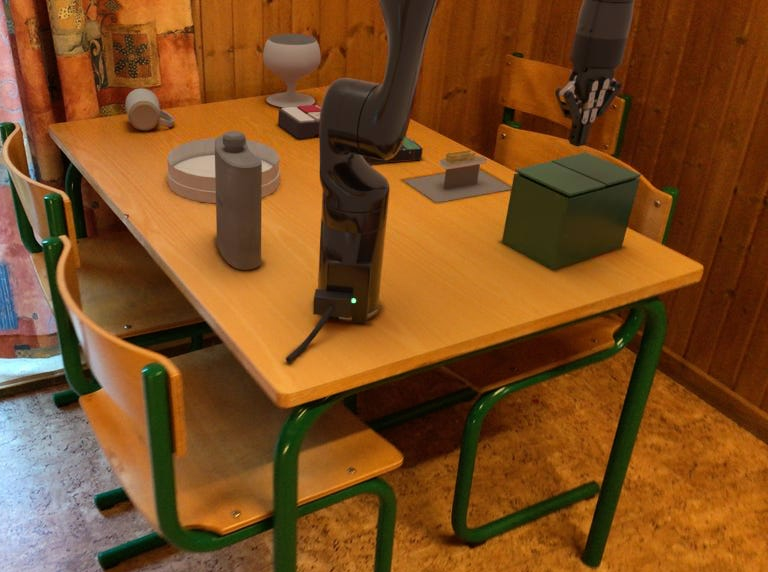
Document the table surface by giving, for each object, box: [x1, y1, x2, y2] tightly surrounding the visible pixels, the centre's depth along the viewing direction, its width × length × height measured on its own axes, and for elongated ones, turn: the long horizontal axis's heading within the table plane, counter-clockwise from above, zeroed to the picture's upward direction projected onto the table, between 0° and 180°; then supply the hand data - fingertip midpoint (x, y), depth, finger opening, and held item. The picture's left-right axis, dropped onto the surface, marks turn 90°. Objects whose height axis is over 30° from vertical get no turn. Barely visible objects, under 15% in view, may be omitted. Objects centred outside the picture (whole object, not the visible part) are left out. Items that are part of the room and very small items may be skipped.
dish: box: [166, 137, 281, 204], centre depth 165 cm, size 22×22×5 cm
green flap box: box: [501, 152, 642, 271], centre depth 142 cm, size 17×12×13 cm
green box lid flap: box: [514, 160, 606, 196], centre depth 137 cm, size 8×12×1 cm
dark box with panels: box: [277, 103, 322, 140], centre depth 193 cm, size 11×4×15 cm
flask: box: [215, 130, 263, 271], centre depth 136 cm, size 15×6×20 cm, turn 15°
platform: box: [402, 149, 512, 204], centre depth 166 cm, size 12×18×7 cm, turn 115°
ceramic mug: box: [124, 87, 175, 132], centre depth 190 cm, size 11×8×8 cm
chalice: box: [262, 33, 322, 108], centre depth 206 cm, size 14×14×15 cm
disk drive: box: [363, 133, 424, 165], centre depth 180 cm, size 10×3×15 cm
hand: (577, 144), depth 135 cm, fingers closed
